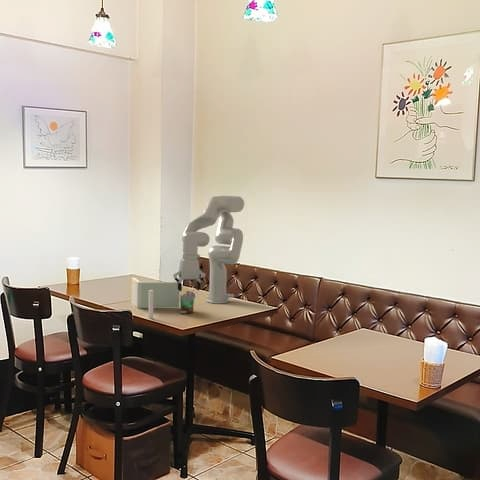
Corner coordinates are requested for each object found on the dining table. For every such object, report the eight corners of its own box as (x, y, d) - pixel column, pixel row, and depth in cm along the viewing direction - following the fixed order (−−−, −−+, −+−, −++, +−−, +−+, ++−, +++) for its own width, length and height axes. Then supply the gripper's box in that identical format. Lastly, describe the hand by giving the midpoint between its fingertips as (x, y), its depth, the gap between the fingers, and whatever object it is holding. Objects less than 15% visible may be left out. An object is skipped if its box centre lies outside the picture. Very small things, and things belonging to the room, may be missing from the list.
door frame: (134, 302, 323) (134, 277, 321) (153, 318, 290) (153, 290, 288) (131, 303, 322) (131, 277, 320) (149, 319, 289) (149, 290, 288)
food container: (191, 315, 298) (191, 296, 297) (179, 314, 300) (180, 295, 298) (197, 310, 310) (198, 291, 309) (186, 309, 312) (187, 290, 310)
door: (140, 306, 312) (141, 281, 311) (178, 306, 316) (179, 281, 314) (140, 307, 310) (141, 282, 308) (179, 307, 313) (179, 282, 311)
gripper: (203, 256, 309) (202, 288, 310) (171, 256, 301) (170, 289, 303) (208, 257, 302) (207, 291, 303) (176, 258, 295) (175, 292, 296)
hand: (188, 290), depth 303 cm, fingers open, 9 cm apart
